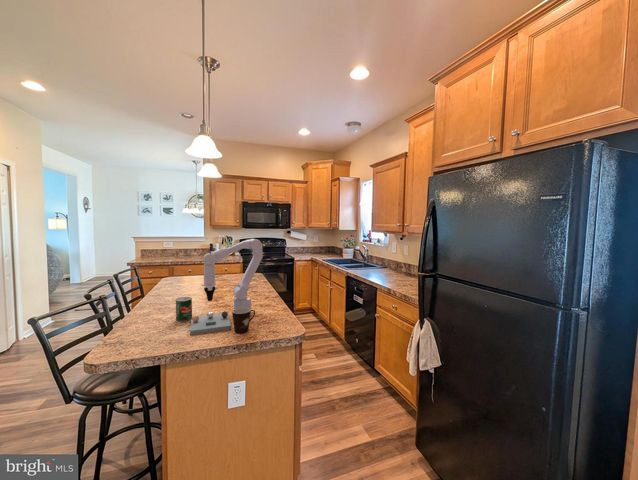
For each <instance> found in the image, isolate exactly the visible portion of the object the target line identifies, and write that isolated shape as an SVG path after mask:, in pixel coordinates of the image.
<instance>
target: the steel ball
mask: <svg viewBox="0 0 638 480" xmlns="http://www.w3.org/2000/svg"><path fill="white" fill-rule="evenodd" d="M206 315H207V317H208V318H212V317H213V316H214V315H215V314H214V312H212V311H209V312H207V314H206Z"/></svg>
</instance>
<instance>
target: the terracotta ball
mask: <svg viewBox="0 0 638 480" xmlns="http://www.w3.org/2000/svg"><path fill="white" fill-rule="evenodd" d="M192 317H193V318H192V319H191V321H192V320H193V321H194V322H197V321H198V320H199V316H198V315H196V314H195V315H192Z"/></svg>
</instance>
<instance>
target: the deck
mask: <svg viewBox="0 0 638 480" xmlns="http://www.w3.org/2000/svg"><path fill="white" fill-rule="evenodd" d="M192 318H193V316H192ZM190 321H191V322H190V330H189V334H190V336H195V335H201V334H208V333H215V332H216V333H217V332H223V331H224V332H225V331H231V330H232V325H231V320H230V317H229V315H228V316H227V317H225V318H224V317H222V313H218V314H217V313H215V314H214V316H213V317H212V318H208V317H207V314H206V315H200V316H199V320H198V321H197V322H194V321H193V320H192V319H191V320H190Z"/></svg>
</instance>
